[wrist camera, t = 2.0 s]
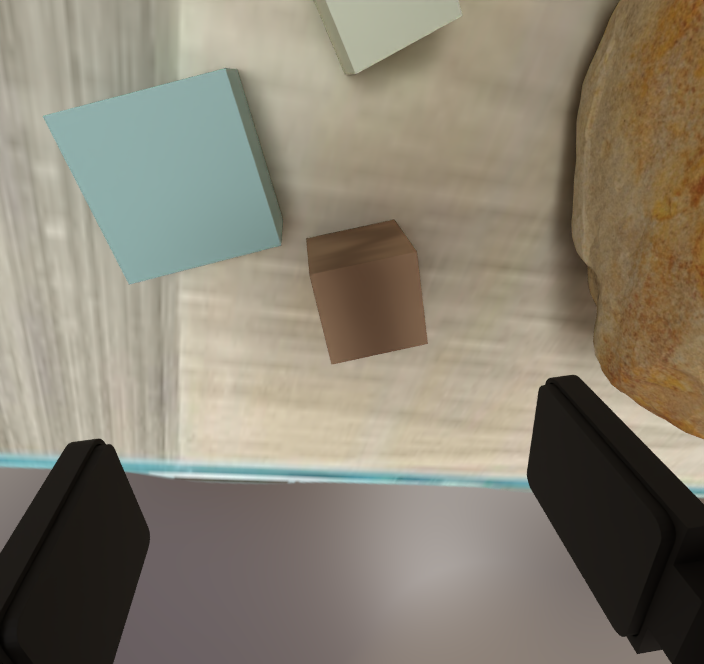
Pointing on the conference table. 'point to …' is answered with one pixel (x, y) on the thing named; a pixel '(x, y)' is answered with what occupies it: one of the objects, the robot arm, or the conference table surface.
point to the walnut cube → (367, 291)
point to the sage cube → (380, 26)
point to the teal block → (173, 174)
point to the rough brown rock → (646, 205)
